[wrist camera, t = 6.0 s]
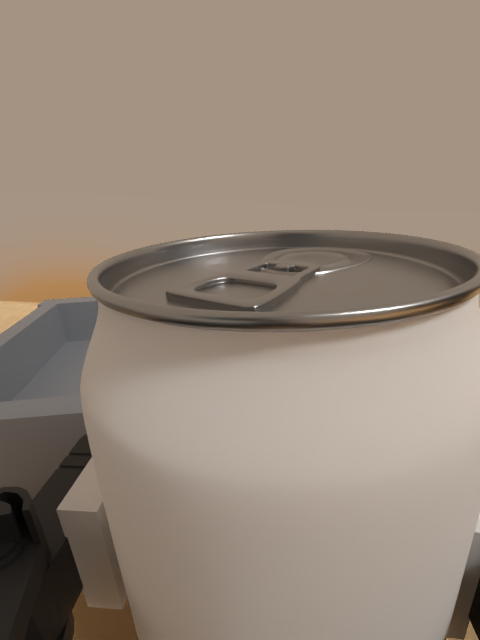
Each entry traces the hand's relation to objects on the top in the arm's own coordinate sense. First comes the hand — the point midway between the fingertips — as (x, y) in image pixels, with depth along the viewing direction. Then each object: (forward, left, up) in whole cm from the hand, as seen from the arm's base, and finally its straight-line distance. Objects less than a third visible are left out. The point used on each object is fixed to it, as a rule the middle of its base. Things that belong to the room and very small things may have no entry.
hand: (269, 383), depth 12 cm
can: (+1, +5, -7) cm, 8 cm away
